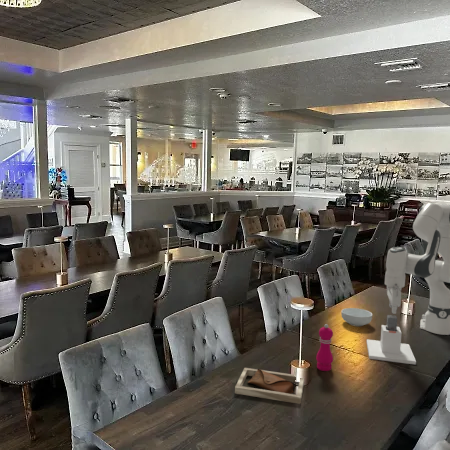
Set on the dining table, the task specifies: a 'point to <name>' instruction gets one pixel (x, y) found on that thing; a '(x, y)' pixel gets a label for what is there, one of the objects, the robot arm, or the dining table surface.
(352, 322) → the cereal bowl
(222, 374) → the dining table surface
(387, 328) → the jack column
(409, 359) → the stand housing
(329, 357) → the pepper mill
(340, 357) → the dining table surface
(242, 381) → the birch tray rim
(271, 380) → the sunglasses case
